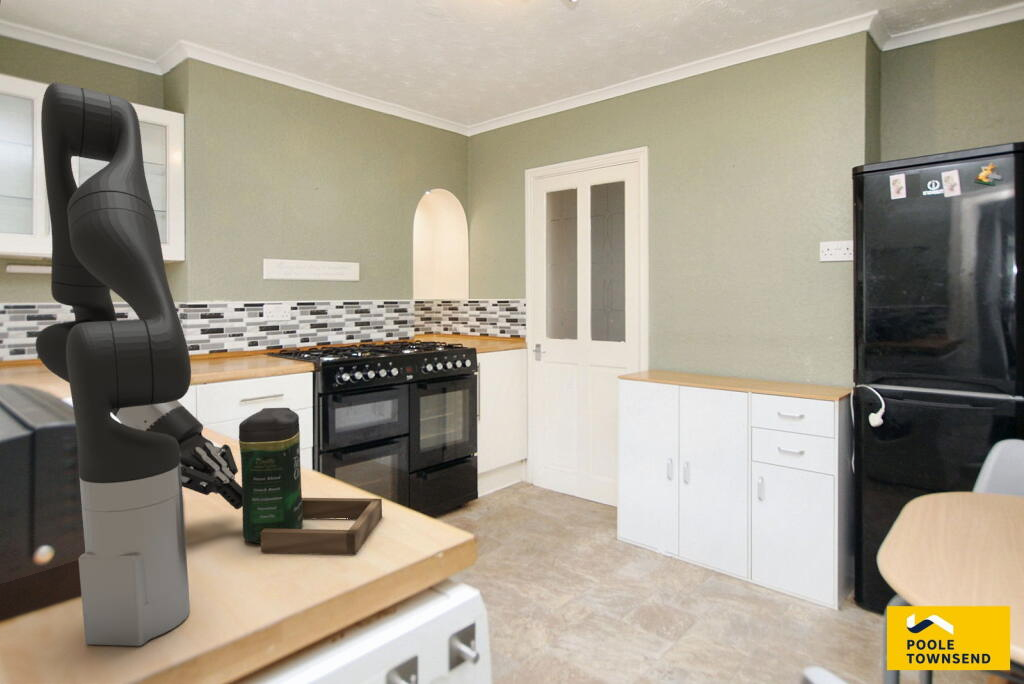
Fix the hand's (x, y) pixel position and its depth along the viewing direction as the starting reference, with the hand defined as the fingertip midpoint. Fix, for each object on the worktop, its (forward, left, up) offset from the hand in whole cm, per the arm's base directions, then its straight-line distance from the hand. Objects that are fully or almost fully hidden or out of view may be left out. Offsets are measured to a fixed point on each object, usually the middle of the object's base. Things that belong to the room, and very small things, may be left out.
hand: (244, 503), depth 90 cm
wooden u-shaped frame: (0, -12, -4) cm, 12 cm away
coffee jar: (0, -4, -5) cm, 6 cm away
